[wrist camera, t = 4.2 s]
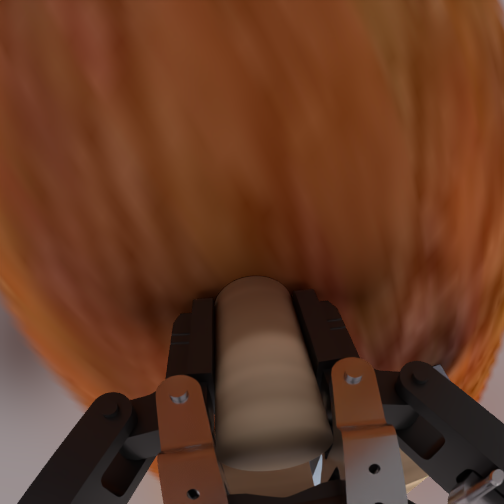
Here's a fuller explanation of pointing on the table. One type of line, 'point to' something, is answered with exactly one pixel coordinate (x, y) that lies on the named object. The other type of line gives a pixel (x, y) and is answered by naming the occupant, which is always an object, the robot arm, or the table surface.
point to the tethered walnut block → (265, 392)
